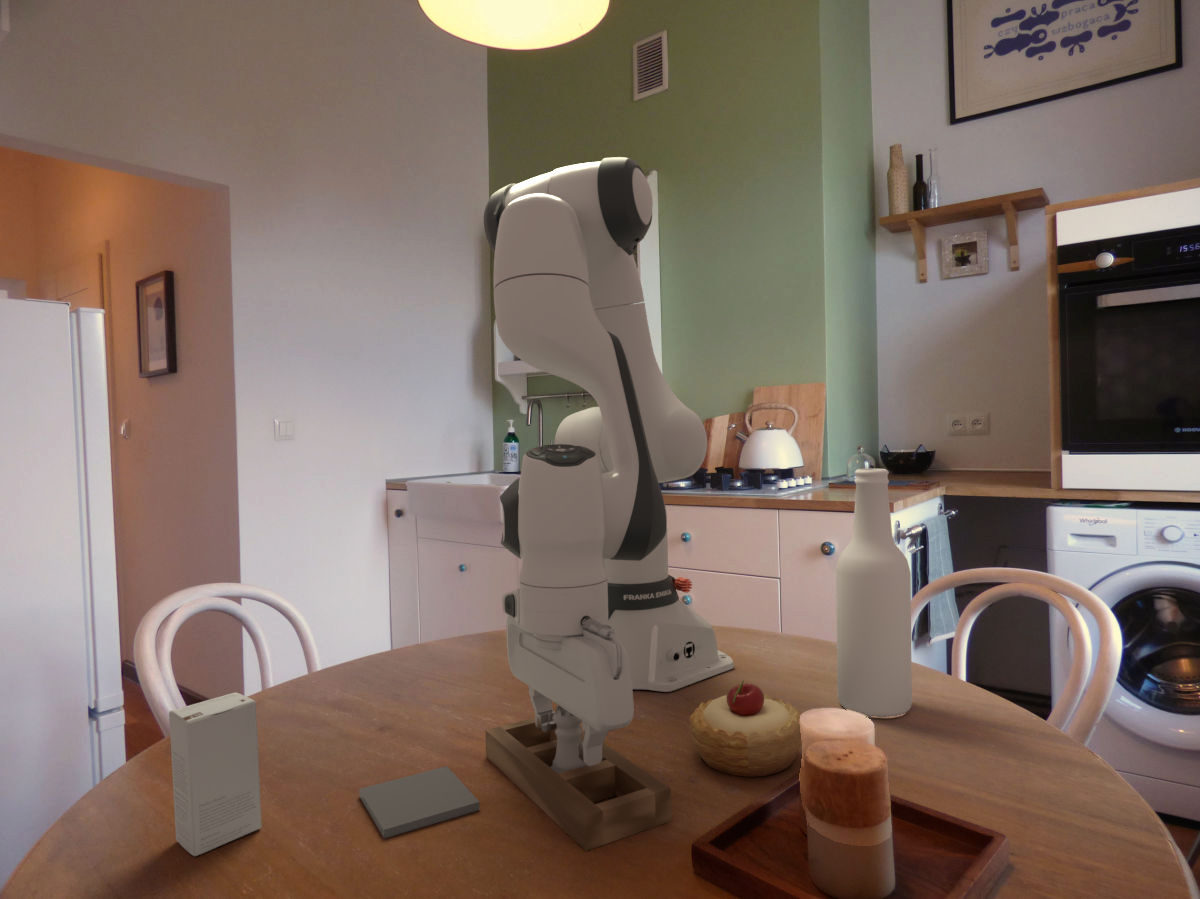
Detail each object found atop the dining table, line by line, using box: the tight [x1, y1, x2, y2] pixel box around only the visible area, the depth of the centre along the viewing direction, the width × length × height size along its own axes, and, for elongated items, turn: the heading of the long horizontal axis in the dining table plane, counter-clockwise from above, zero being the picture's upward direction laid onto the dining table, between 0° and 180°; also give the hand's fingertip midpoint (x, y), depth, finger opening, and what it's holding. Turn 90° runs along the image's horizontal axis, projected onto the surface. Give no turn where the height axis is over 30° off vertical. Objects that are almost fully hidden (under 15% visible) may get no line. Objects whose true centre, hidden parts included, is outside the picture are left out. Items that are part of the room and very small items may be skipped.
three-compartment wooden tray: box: [484, 717, 672, 852], centre depth 76 cm, size 9×22×3 cm, turn 31°
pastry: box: [688, 680, 802, 778], centre depth 81 cm, size 12×12×9 cm
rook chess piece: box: [550, 705, 587, 774], centre depth 76 cm, size 4×4×8 cm
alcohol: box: [835, 468, 913, 719], centre depth 94 cm, size 9×9×30 cm
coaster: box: [358, 765, 481, 839], centre depth 73 cm, size 9×9×1 cm
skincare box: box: [168, 692, 262, 857], centre depth 67 cm, size 6×4×12 cm
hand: (567, 744), depth 76 cm, fingers open, 8 cm apart
